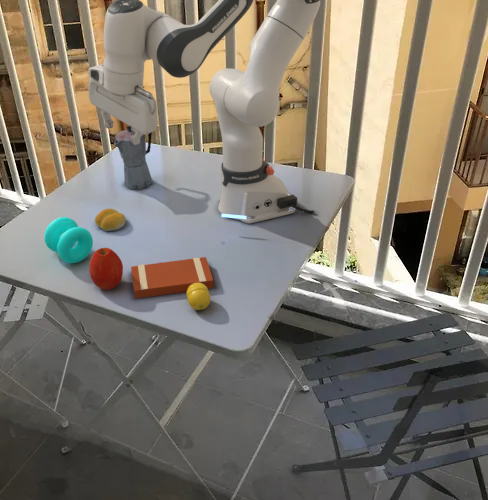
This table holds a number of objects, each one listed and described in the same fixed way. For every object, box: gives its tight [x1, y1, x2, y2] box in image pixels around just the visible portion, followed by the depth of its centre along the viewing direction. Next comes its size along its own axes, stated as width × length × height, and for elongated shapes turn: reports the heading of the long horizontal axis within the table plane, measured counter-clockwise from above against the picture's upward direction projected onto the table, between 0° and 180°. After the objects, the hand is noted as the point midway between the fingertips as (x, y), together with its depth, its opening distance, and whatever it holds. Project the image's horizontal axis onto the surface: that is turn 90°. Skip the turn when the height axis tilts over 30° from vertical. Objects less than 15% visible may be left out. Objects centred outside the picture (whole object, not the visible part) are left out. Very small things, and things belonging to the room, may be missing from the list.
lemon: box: [186, 283, 211, 311], centre depth 128 cm, size 7×5×5 cm
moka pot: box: [113, 125, 153, 190], centre depth 178 cm, size 10×15×20 cm, turn 139°
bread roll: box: [94, 208, 127, 232], centre depth 162 cm, size 8×9×4 cm
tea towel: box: [130, 256, 214, 299], centre depth 138 cm, size 19×10×2 cm, turn 97°
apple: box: [88, 247, 124, 291], centre depth 136 cm, size 8×8×11 cm
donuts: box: [43, 216, 94, 264], centre depth 148 cm, size 10×10×10 cm
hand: (121, 135), depth 132 cm, fingers open, 8 cm apart
